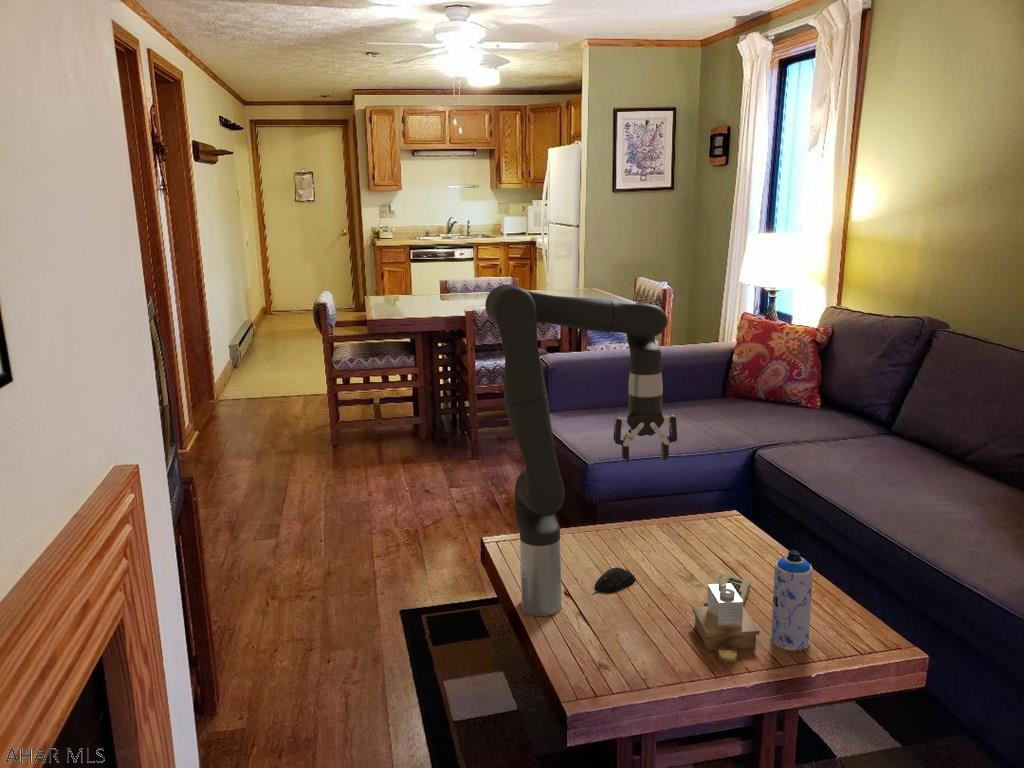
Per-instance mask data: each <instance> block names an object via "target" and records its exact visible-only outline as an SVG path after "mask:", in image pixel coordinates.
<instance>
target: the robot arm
mask: <svg viewBox="0 0 1024 768" xmlns="http://www.w3.org/2000/svg"><path fill="white" fill-rule="evenodd" d="M484 308H485V312H486V314H487V317H489V319H490V321H492V323H494V324H495V325H496V326H497V328H498V331H499V334H500V335H499V336H500V339H501V344H502V347H503V348H502V349H503V354H504V375H503V399H504V404H505V410H506V416H507V420H508V423H509V426H510V429H511V431H512V435H513V436H514V439H515V442H516V443H517V446H518V448H519V451H520V452H521V455H522V457H523V461H524V462H523V463H524V465H525V466H524V467H525V469H523V470H522V471H521V472H520V473H519V475H518V476H517V478H516V481H515V484H514V506H515V519H516V520H515V521H516V526H517V528H518V532H519V549H520V550H519V551H520V552H519V553H520V565H519V568H520V573H519V574H520V598H521V599H520V601H521V611H522V614H523V615H530V616H535V617H548V616H552V615H555V614H557V613H559V612H560V611H561V609H562V599H563V598H562V561H561V560H562V558H561V557H562V556H561V550H562V549H561V548H562V547H561V528H560V525H559V522H558V520H557V517H556V514H557V513H558V512H559V511H560V509H561V508H562V506H563V504H564V502H565V487H564V483H563V478H562V475H561V472H560V468H559V463H558V460H557V459H558V458H557V456H556V450H555V444H554V436H553V427H552V423H551V421H552V420H551V415H550V406H549V400H548V393H547V387H546V382H545V377H544V371H543V366H542V362H541V358H540V357H541V356H540V353H539V352H540V351H539V344H538V343H539V342H538V328H537V327H538V326H537V325H538V324H549V325H556V326H562V327H567V328H572V329H578V330H585V331H591V332H599V333H600V332H602V333H603V332H604V333H621V334H625V335H626V338H627V345H628V348H629V353H630V355H629V377H628V414H627V416H626V417H620V416H618V415H617V416H614V422H613V423H614V424H613V438H612V439H613V441H614V443H615V444H616V445H620V446H621V457H622V459H623V460H624V461H625V463H629V462H630V446H629V444H630V443H631V442H632V441H633V440H634V439H635V438H636V437H637V436H638V437H643V436H649V437H650V436H654V435H655V434H656V435H657V437H659V439H660V440H661V442H660V458H661V460H662V461H666V460H667V458H669V455H670V454H669V453H670V444H671V443H675V442H677V441H678V430H677V429H678V428H677V427H678V426H677V425H678V424H677V417H676V416H675V415H674V414H672V413H670V414H668V415H665V416H664V415H663V391H664V387H663V375H662V363H663V362H662V358H663V357H662V351H661V348H660V347H659V346H658V345H657V343H656V337H657V336H659V335H660V334H662V333H663V332H664V331H665V329H666V328H667V326H668V316H667V313H666V312H665V310H664V309H662V308H661V307H660V306H659V305H655V304H651V303H647V302H643V301H642V302H636V303H624V302H621V301H619V300H618V301H617V300H613V299H603V298H602V299H601V298H591V297H578V296H577V297H576V296H562V295H561V296H560V295H552V294H545V293H539V292H535V291H531V290H527V289H524V288H522V287H519V286H517V285H515V284H511V283H510V284H507V283H506V284H501V285H498V286H496V287H495V288H492V290H491V291H490V292H489V293H488V294H487V297H486V299H485V305H484ZM626 423H627V425H628V426H629V428H628V430H627V431H626V432H625V435H624V436H623V437H622V436H621V435H622V428H624V427H625V424H626ZM664 423H665V424H666V425H667V426H668V433H669V434H668V435H667V436H666V435H665V434H664V433H663V431H662V430H661V429H660V428H661V427H662V426H663V424H664Z"/></svg>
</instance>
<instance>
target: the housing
mask: <svg viewBox="0 0 1024 768" xmlns="http://www.w3.org/2000/svg"><path fill="white" fill-rule="evenodd" d="M707 597H708V609H707V610H708V612H709V613H710V615H711V617H712V619H713V621H714V622H715V624H716V626H717V628H718V629H731V628H742V615H743V607H744V606H743V601H742V599H741V598H740V596H739V595H738V593H737V592H736V590H735V589H734V587H733V586H732V584H724V583H720V584H714V583H711V584H708V585H707Z"/></svg>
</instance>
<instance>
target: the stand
mask: <svg viewBox="0 0 1024 768" xmlns="http://www.w3.org/2000/svg"><path fill="white" fill-rule="evenodd" d="M707 609H708V606H704V605H703V606H692V612H693V614H694V616H695V617H694V625H695V628H696V629H697V631H698V633H699V636H700V637H701V639H702V640H703V643H704V645H705V647H706V648H707V650H708V651H709V650H710V651H711V650H719V647H721V646H724V645H728V646H732V647H734V648H736V649H744V648H746V649H747V648H756V647H757V635H758V636H759V635H761V634H760V632H761V631H760V630H759V628H758V626H757V625H756V622H754V620H753V619H752V617H751V616H750V615H749V613H748V611H747V610H746V609H745V607H744V606H743V615H742V628H731V629H718V628H717V626H716V624H715V622H714V621H713V619H712V617H711V615H710V613H709V612H708V610H707Z"/></svg>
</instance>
